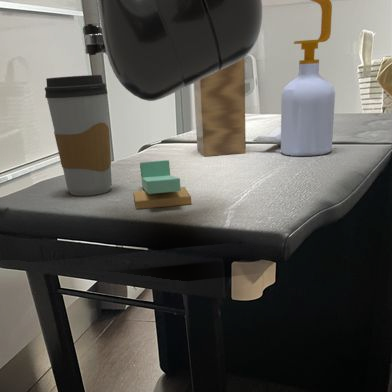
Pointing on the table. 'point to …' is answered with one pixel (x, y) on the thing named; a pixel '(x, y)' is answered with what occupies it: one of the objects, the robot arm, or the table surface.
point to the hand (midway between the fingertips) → (146, 39)
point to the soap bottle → (309, 101)
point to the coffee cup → (81, 132)
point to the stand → (221, 111)
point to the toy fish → (271, 137)
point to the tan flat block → (161, 199)
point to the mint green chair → (158, 177)
